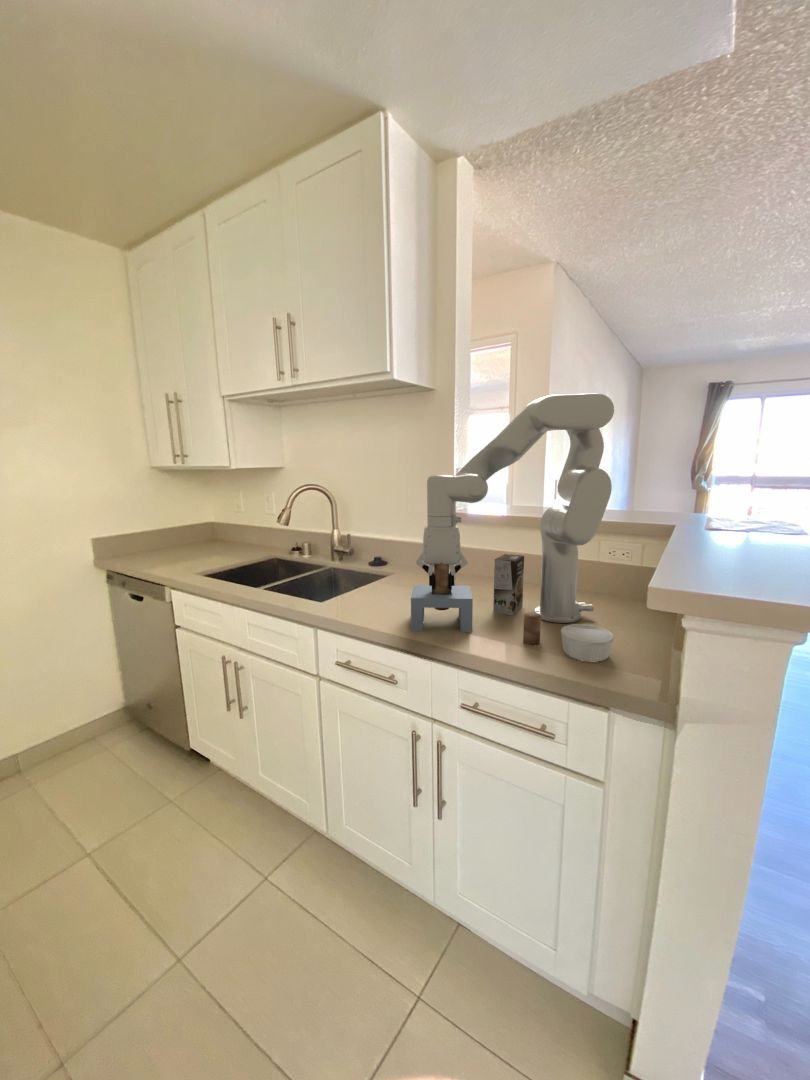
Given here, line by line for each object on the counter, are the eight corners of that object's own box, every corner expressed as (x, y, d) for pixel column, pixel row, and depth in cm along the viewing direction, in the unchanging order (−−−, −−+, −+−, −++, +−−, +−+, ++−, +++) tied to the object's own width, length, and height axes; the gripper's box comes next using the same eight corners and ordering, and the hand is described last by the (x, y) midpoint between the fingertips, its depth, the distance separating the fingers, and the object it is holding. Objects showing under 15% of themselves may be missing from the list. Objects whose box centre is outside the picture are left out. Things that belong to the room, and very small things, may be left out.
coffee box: (513, 615, 125) (515, 561, 122) (492, 612, 128) (493, 558, 125) (523, 606, 132) (525, 555, 129) (503, 603, 135) (504, 553, 133)
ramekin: (601, 644, 105) (602, 623, 104) (621, 665, 94) (622, 642, 93) (554, 643, 105) (555, 623, 104) (568, 665, 94) (569, 642, 93)
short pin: (538, 639, 108) (539, 612, 107) (541, 645, 104) (542, 618, 103) (521, 638, 108) (522, 612, 107) (524, 645, 104) (525, 617, 103)
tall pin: (448, 605, 121) (448, 556, 118) (449, 610, 117) (449, 559, 114) (434, 605, 121) (434, 556, 119) (434, 610, 117) (434, 559, 115)
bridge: (469, 615, 125) (469, 585, 124) (472, 631, 113) (472, 598, 112) (414, 615, 126) (413, 585, 125) (411, 630, 115) (410, 598, 113)
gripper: (472, 519, 118) (471, 584, 121) (410, 520, 119) (411, 584, 123) (474, 523, 111) (473, 592, 114) (409, 524, 112) (410, 592, 115)
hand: (441, 587), depth 118 cm, fingers closed on tall pin, 4 cm apart
